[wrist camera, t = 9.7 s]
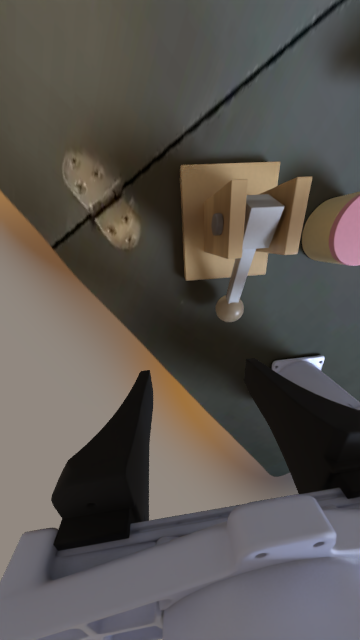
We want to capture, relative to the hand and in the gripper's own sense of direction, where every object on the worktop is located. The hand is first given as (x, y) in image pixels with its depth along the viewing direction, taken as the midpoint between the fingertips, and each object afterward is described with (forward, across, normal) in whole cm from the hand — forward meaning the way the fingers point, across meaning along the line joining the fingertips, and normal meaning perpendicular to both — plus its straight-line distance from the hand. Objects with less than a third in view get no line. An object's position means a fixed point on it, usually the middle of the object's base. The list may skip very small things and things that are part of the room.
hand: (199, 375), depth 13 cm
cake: (+10, -17, -9) cm, 22 cm away
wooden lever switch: (+10, -5, -10) cm, 15 cm away
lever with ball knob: (+7, -5, -7) cm, 11 cm away
